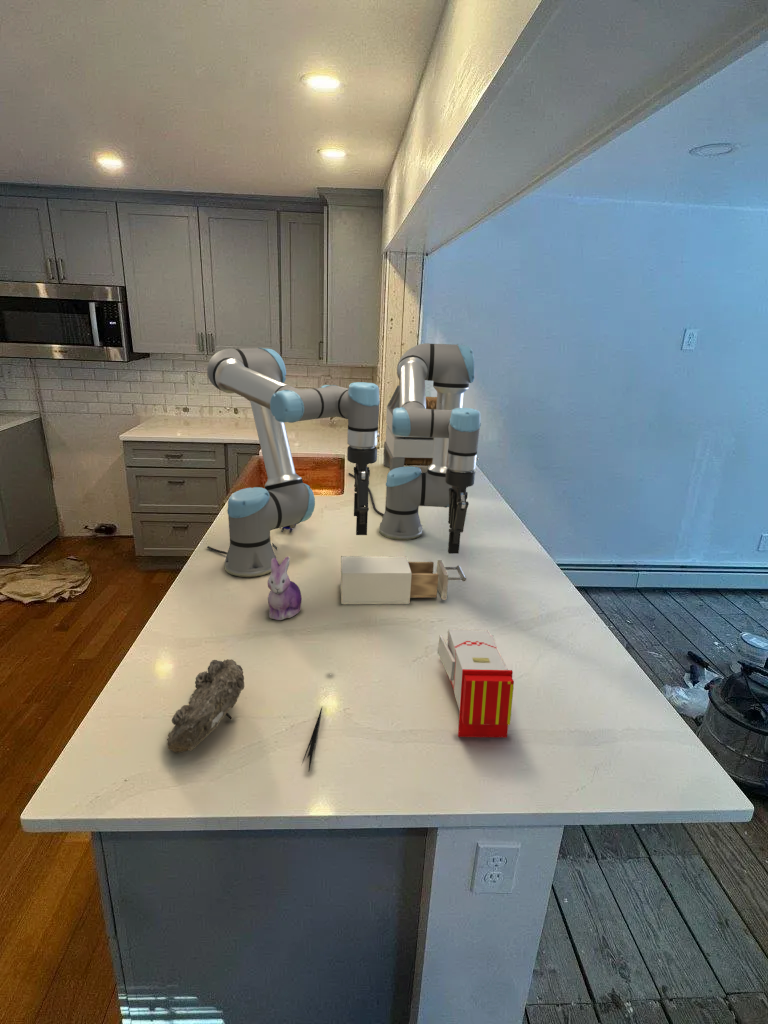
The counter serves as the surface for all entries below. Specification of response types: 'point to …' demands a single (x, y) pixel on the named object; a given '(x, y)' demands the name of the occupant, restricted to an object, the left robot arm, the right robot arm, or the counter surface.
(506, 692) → the toy
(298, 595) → the figurine
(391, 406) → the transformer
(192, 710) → the fossil
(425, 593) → the drawer
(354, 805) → the counter surface
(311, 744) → the feather
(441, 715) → the counter surface
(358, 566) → the cabinet
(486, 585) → the counter surface
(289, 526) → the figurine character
